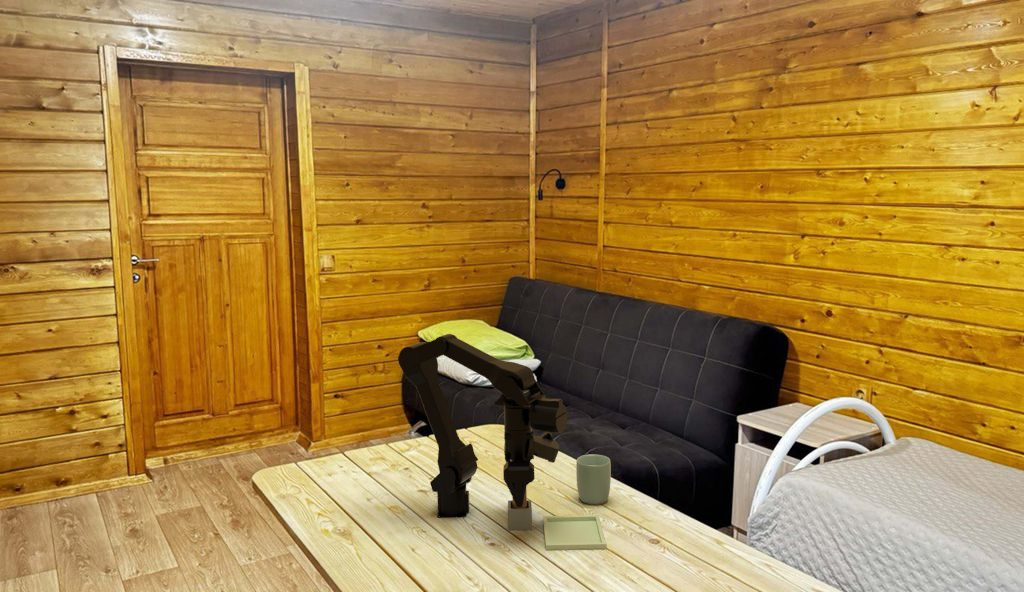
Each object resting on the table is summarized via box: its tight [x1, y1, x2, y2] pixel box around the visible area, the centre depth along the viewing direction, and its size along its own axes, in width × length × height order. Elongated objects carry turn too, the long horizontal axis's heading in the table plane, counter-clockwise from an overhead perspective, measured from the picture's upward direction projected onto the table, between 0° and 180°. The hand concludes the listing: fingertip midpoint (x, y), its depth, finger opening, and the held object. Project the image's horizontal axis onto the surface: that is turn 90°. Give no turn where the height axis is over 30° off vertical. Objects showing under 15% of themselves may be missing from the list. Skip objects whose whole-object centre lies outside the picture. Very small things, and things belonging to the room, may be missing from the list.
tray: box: [542, 514, 608, 551], centre depth 163 cm, size 12×14×2 cm
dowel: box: [511, 490, 528, 509], centre depth 167 cm, size 3×3×10 cm
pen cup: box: [507, 499, 533, 532], centre depth 168 cm, size 5×5×5 cm
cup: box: [575, 453, 612, 506], centre depth 180 cm, size 8×8×10 cm
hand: (519, 498), depth 167 cm, fingers open, 9 cm apart
